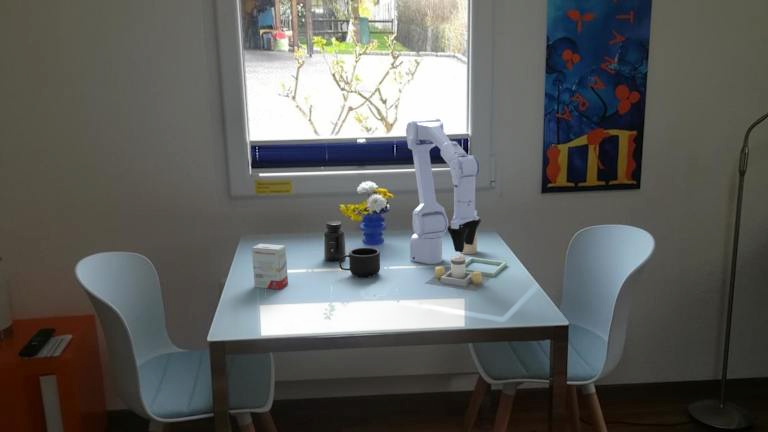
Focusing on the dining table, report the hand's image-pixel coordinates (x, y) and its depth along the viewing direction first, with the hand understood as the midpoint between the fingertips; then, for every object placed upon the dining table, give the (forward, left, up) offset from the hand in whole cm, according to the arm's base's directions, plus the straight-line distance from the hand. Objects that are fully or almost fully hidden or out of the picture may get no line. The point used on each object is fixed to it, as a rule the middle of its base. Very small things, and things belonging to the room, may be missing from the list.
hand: (464, 247), depth 198 cm
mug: (-30, -6, -11) cm, 33 cm away
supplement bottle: (-45, +4, -11) cm, 47 cm away
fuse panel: (-1, -1, -10) cm, 11 cm away
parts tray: (+1, +12, -10) cm, 16 cm away
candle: (-10, +29, -11) cm, 32 cm away
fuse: (-1, -1, -9) cm, 10 cm away
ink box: (-48, -25, -11) cm, 55 cm away
